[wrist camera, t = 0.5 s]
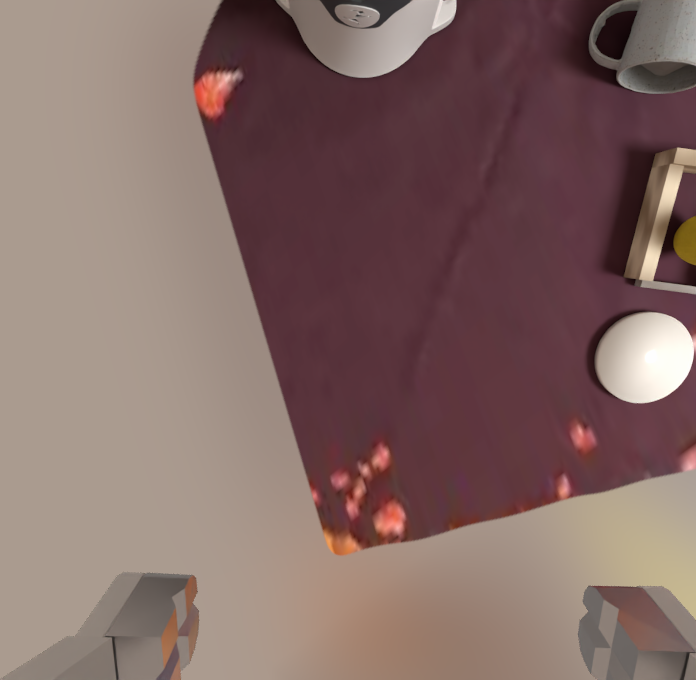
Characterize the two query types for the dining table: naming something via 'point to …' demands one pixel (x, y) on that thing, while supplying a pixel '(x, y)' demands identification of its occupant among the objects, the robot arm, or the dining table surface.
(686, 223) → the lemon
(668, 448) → the dining table surface
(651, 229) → the wooden rectangular frame
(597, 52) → the ceramic mug
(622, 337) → the saucer
